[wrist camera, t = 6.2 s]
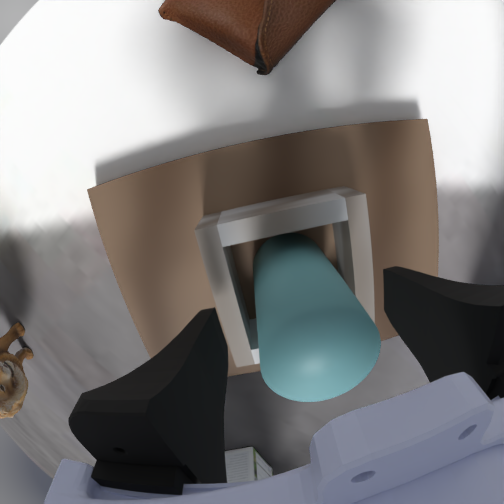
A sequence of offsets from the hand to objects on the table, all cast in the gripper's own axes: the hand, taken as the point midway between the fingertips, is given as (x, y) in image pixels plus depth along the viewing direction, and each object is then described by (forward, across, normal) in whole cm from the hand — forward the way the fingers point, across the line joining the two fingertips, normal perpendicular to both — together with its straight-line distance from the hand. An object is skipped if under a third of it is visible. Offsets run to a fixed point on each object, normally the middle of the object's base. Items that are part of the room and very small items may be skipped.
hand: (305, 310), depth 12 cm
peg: (+5, 0, 0) cm, 5 cm away
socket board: (+6, 0, 0) cm, 6 cm away
